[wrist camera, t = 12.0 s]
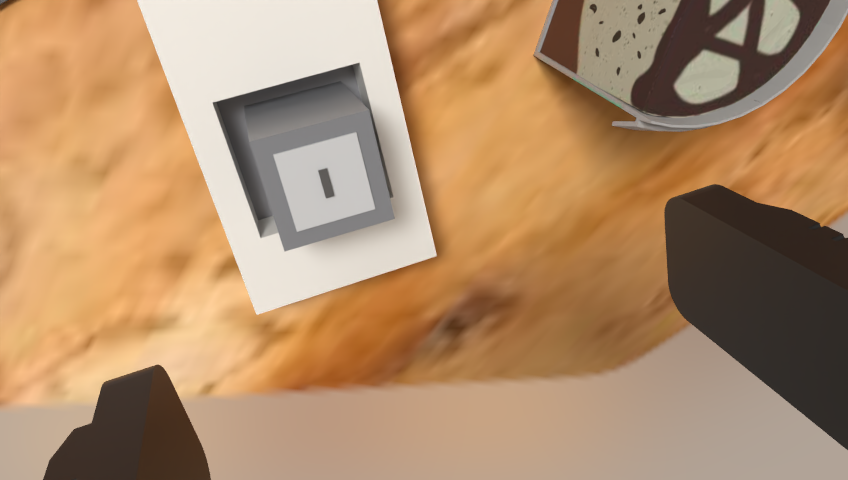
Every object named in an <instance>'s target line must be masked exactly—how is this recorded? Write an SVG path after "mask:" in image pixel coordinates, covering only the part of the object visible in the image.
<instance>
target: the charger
mask: <svg viewBox="0 0 848 480" xmlns="http://www.w3.org/2000/svg"><path fill="white" fill-rule="evenodd" d="M244 111H245V118H246V124H247V131H248V137H249V143H250V146H251V149H252V152H253V155H254V158H255V161H256V164H257V168H258V171H259V174H260V177H261V180H262V183H263V186H264V189H265V192H266V195H267V199H268V202H269V205H270V208H271V211H272V214H273V217H274V220H275V223H276V227H277V230H278V233H279V236H280V239H281V242H282V245H283V248H284V251H288V250H292V249H295V248H298V247H302V246H305V245H308V244H312V243H315V242H319V241H322V240H325V239H329V238H332V237H335V236H339V235H342V234H346V233H349V232H352V231H356V230H359V229H362V228H366V227H369V226H373V225H376V224H379V223H383V222H386V221H389V220H393V219H395V217H394V213H393V209H392V204H391V200H390V196H389V192H388V188H387V183H386V179H385V175H384V171H383V167H382V162H381V158H380V154H379V150H378V146H377V141H376V137H375V133H374V129H373V125H372V120H371V116H370V112H369V109H368V108H367V107H366V106H365V105H364V104H363V103H362V102H361V101H360V100H359V99H358V98H357V97H356V96H355V95H354V94H353V93H352V92H351V91H350V90H349V89H348V88H347V87H346V86H345V85H344V84H343V83H342V82H341V81H338V82H335V83H331V84H327V85H323V86H319V87H315V88H311V89H307V90H304V91H300V92H296V93H292V94H288V95H284V96H280V97H276V98H272V99H269V100H265V101H261V102H257V103H253V104H249V105H245V106H244Z"/></svg>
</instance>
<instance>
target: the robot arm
mask: <svg viewBox="0 0 848 480" xmlns="http://www.w3.org/2000/svg"><path fill="white" fill-rule="evenodd" d="M665 233H666V251H667V268H668V284H669V289H670V293H671V296H672V299H673V301H674V303H675V305H676V307H677V309H678V310H679V312H680V313H681V314H682V316H683V317H684V318H685V319H686V320H687V321H689V322H690V323H691V324H692V325H694V326H695V327H696V328H697V329H699V330H700V331H701V332H702V333H703V334H705V335H706V336H707V337H709V338H710V339H711V340H712V341H713V342H715V343H716V344H717V345H718V346H720V347H721V348H722V349H723V350H724V351H726V352H727V353H728V354H730V355H731V356H732V357H733V358H735V359H736V360H737V361H738V362H739V363H741V364H742V365H743V366H744V367H745V368H747V369H748V370H749V371H750V372H752V373H753V374H754V375H755V376H757V377H758V378H759V379H760V380H762V381H763V382H764V383H765V384H766V385H768V386H769V387H770V388H772V389H773V390H774V391H775V392H776V393H778V394H779V395H780V396H781V397H783V398H784V399H785V400H786V401H788V402H789V403H790V404H791V405H792V406H794V407H795V408H796V409H797V410H799V411H800V412H801V413H802V414H804V415H805V416H806V417H807V418H809V419H810V420H811V421H812V422H814V423H815V424H816V425H817V426H818V427H820V428H821V429H822V430H823V431H825V432H826V433H827V434H828V435H830V436H831V437H832V438H833V439H835V440H836V441H837V442H838V443H839V444H841V445H842V446H843V447H845V448H846V449H847V450H848V238H844V236H843V234H842V233H839V232H837V231H835V230H833V229H831V228H829V227H827V226H824V227H821V226H820V223H818V222H816V221H814V220H812V219H809V218H807V217H805V216H803V215H801V214H799V213H797V212H794V211H792V210H789V209H784V208H779V207H774V206H770V205H765V204H760V203H756V202H754V201H752V200H750V199H748V198H746V197H744V196H742V195H740V194H738V193H736V192H734V191H732V190H729V189H727V188H725V187H723V186H721V185H716V184H714V185H710V186H707V187H704V188H701V189H698V190H695V191H692V192H689V193H686V194H683V195H679V196H676V197H673V198H671V199H670V200H669V201H668V202H667V204H666V207H665ZM43 480H211V479H210V472H209V468H208V463H207V459H206V456H205V453H204V450H203V448H202V445H201V443H200V441H199V439H198V436H197V434H196V432H195V431H194V428H193V426H192V424H191V422H190V420H189V418H188V415H187V413H186V411H185V409H184V407H183V405H182V403H181V401H180V399H179V397H178V394H177V392H176V390H175V388H174V386H173V384H172V382H171V380H170V378H169V376H168V374H167V372H166V371H165V370H164V368H163V367H162V366H160V365H155V366H152V367H149V368H145V369H142V370H139V371H136V372H133V373H130V374H127V375H124V376H121V377H118V378H115V379H112V380H109V381H106V382H104V384H103V385H102V388H101V391H100V395H99V398H98V402H97V406H96V410H95V413H94V417H93V421H92V423H91V424H88V425H85V426H82V427H79V428H76V429H74V430H73V431H72V432H71V434H70V435H69V436H68V437H67V439H66V440H65V441H64V443H63V444H62V445H61V446H60V448H59V449H58V450H57V452H56V453H55V454H54V455H53V457H52V458H51V459H50V461H49V464H48V467H47V470H46V473H45V476H44V479H43Z"/></svg>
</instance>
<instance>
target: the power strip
mask: <svg viewBox="0 0 848 480" xmlns="http://www.w3.org/2000/svg"><path fill="white" fill-rule="evenodd" d="M137 1H138V4H139V6H140V9H141V12H142V14H143V17H144V20H145V22H146V25H147V27H148V30H149V33H150V35H151V38H152V41H153V43H154V46H155V49H156V51H157V54H158V56H159V59H160V62H161V64H162V67H163V70H164V72H165V75H166V77H167V80H168V83H169V85H170V88H171V91H172V93H173V96H174V99H175V101H176V104H177V106H178V109H179V112H180V114H181V117H182V120H183V122H184V125H185V128H186V130H187V133H188V135H189V138H190V141H191V143H192V146H193V149H194V151H195V154H196V156H197V159H198V162H199V164H200V167H201V170H202V172H203V175H204V178H205V180H206V183H207V185H208V188H209V191H210V193H211V196H212V199H213V201H214V204H215V207H216V209H217V212H218V214H219V217H220V220H221V222H222V225H223V228H224V230H225V233H226V235H227V238H228V241H229V243H230V246H231V249H232V251H233V254H234V257H235V259H236V262H237V264H238V267H239V270H240V272H241V275H242V278H243V280H244V283H245V285H246V288H247V291H248V293H249V296H250V299H251V301H252V304H253V307H254V309H255V312H256V314H257V315H258V314H261V313H264V312H267V311H270V310H273V309H276V308H279V307H282V306H285V305H288V304H291V303H294V302H297V301H300V300H304V299H307V298H310V297H313V296H316V295H319V294H322V293H325V292H328V291H331V290H334V289H337V288H340V287H343V286H347V285H350V284H353V283H356V282H359V281H362V280H365V279H368V278H371V277H374V276H377V275H380V274H383V273H386V272H389V271H393V270H396V269H399V268H402V267H405V266H408V265H411V264H414V263H417V262H420V261H423V260H426V259H429V258H432V257H435V256H437V254H436V250H435V246H434V242H433V237H432V233H431V229H430V224H429V220H428V216H427V212H426V207H425V203H424V199H423V195H422V190H421V186H420V182H419V177H418V173H417V169H416V165H415V160H414V156H413V152H412V147H411V143H410V139H409V135H408V130H407V126H406V122H405V117H404V113H403V109H402V105H401V100H400V96H399V92H398V88H397V83H396V79H395V75H394V70H393V66H392V62H391V58H390V53H389V49H388V45H387V40H386V36H385V32H384V28H383V23H382V19H381V15H380V10H379V6H378V2H377V0H137ZM338 81H341V82H342V83H343V84H344V85H345V86H346V87H347V88H348V89H349V90H350V91H351V92H352V93H353V94H354V95H355V96H356V97H357V98H358V99H359V100H360V101H361V102H362V103H363V104H364V105H365V106H366V107H367V108H368V109H369V112H370V116H371V120H372V125H373V129H374V133H375V137H376V141H377V146H378V150H379V154H380V158H381V162H382V167H383V171H384V175H385V179H386V183H387V188H388V192H389V196H390V200H391V204H392V209H393V213H394V217H395V219H393V220H389V221H386V222H383V223H379V224H376V225H373V226H369V227H366V228H362V229H359V230H356V231H352V232H349V233H346V234H342V235H339V236H335V237H332V238H329V239H325V240H322V241H319V242H315V243H312V244H308V245H305V246H302V247H298V248H295V249H292V250H288V251H284V248H283V245H282V242H281V239H280V236H279V233H278V230H277V227H276V223H275V220H274V217H273V214H272V211H271V208H270V205H269V202H268V199H267V195H266V192H265V189H264V186H263V183H262V180H261V177H260V174H259V171H258V168H257V164H256V161H255V158H254V155H253V152H252V149H251V146H250V143H249V137H248V131H247V124H246V118H245V111H244V106H245V105H249V104H253V103H257V102H261V101H265V100H269V99H272V98H276V97H280V96H284V95H288V94H292V93H296V92H300V91H304V90H307V89H311V88H315V87H319V86H323V85H327V84H331V83H335V82H338Z"/></svg>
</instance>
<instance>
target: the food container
mask: <svg viewBox="0 0 848 480" xmlns="http://www.w3.org/2000/svg"><path fill="white" fill-rule="evenodd" d="M847 14H848V0H553V1H552V4H551V7H550V10H549V12H548V15H547V18H546V21H545V24H544V27H543V30H542V32H541V35H540V38H539V41H538V44H537V47H536V50H535V52H534V56H535V57H537V58H539V59H540V60H542V61H544V62H545V63H547V64H549V65H550V66H552V67H554V68H555V69H557V70H558V71H560V72H562V73H563V74H565V75H567V76H568V77H570V78H572V79H573V80H575V81H577V82H578V83H580V84H582V85H583V86H585V87H587V88H588V89H590V90H591V91H593V92H595V93H596V94H598V95H600V96H601V97H603V98H605V99H606V100H608V101H610V102H611V103H613V104H615V105H616V106H618V107H620V108H621V109H623V110H624V111H626V112H628V113H629V114H631V115H633V116H634V117H636V121H613V123H612V126H616V127H621V128H626V129H632V130H647V131H678V132H682V131H688V130H695V129H702V128H707V127H710V126H713V125H717V124H720V123H723V122H726V121H729V120H733V119H736V118H739V117H741V116H743V115H745V114H747V113H749V112H751V111H753V110H755V109H757V108H759V107H761V106H763V105H765V104H766V103H768V102H769V101H770V100H772V99H773V98H775V97H776V96H778V95H779V94H781V93H782V92H783V91H785V90H786V89H787V88H788V87H789V86H790V85H792V84H793V83H794V82H795V81H796V80H797V79H798V78H799V77H800V76H802V75H803V74H804V73H805V72H806V71H807V69H808V68H809V67H810V66H811V65H812V64H813V63H814V61H815V60H816V59H817V58H818V57H819V56H820V55H821V53H822V52H823V51H824V50H825V48H826V47H827V45H828V44H829V43H830V41H831V40H832V38H833V37H834V35H835V34H836V32H837V31H838V30H839V28H840V27H841V25H842V23H843V21H844V19H845V17H846V15H847Z"/></svg>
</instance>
